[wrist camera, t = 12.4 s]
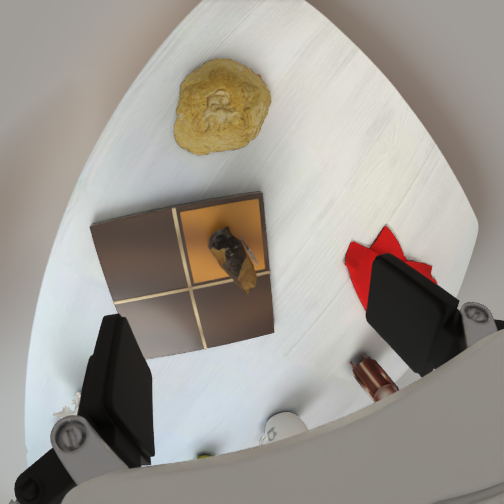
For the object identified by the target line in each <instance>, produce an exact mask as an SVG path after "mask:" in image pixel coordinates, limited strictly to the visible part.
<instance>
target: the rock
mask: <svg viewBox="0 0 504 504" xmlns="http://www.w3.org/2000/svg"><path fill="white" fill-rule="evenodd" d="M240 240H241V241H240ZM240 240H239V239H237V238H236V237H235V236H234V235H232V233H231V232H230V229H229V227H228V226H227V227H224V228H223V229H221V230H217V231H215V232H214V233H213V234H212V235H211V236H210V238H209V243H208V248H209V250H210V252H211V253H212V254H213V255H214V257H215V258H216V259H217V261H218V264H219V266H220V267H221V268H222V269H223V270H225V272H226V273H227V274H228V275H229V276H230V277H231V278H232V279H233V281H234V282H235V283H236V284H237V285H238V286H239V287H240V288H241V289H242V290H243V291H244V292H245V293H246V294H247V295H248V293H249V289H250V288H254V287H256V280H257V275H256V272H255V269H254V265H253V263H252V261H251V259H250V257H249V256H248V254H247V252H248V253H249V255H250V256H251V258H252V259H253V261H254V262H255V263H256V265H258V262H257V260H256V258H255V256H254V254H253V252H252V250H251V248H250V249H249V248H248V247H247V245H246V244H245V242H244V240H243V237H242V236H241V238H240ZM241 242H242V243H243V242H244V244H245V245H244V244H242V243H241ZM243 245H244V246H245V248H246V250H247V252H246V251H245V249H244V246H243Z"/></svg>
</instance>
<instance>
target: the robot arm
mask: <svg viewBox="0 0 504 504" xmlns="http://www.w3.org/2000/svg"><path fill="white" fill-rule="evenodd" d="M458 304H459V300H458V299H456V298H455V297H454V296H452V295H451V294H449V293H448V292H447V291H445V290H444V289H443V288H441V287H440V286H438V285H437V284H436V283H434V282H433V281H431V280H430V279H428V278H427V277H425V276H424V275H423V274H421V273H420V272H418V271H417V270H415V269H414V268H412V267H411V266H409V265H408V264H406V263H405V262H403V261H402V260H400V259H399V258H397V257H396V256H394V255H393V254H391V253H385V254H381V255H378V256H376V257H375V260H374V261H373V262H372V269H371V278H370V287H369V295H368V302H367V309H366V319H367V322H368V323H369V324H370V325H371V326H372V327H373V328H374V329H375V330H376V332H377V333H378V334H379V335H380V336H381V337H382V338H383V339H384V340H385V341H386V342H387V343H388V344H389V345H390V346H391V348H392V349H393V350H394V351H395V352H396V353H397V354H398V355H399V356H400V357H401V358H402V360H403V361H404V362H405V363H406V364H407V365H408V366H409V367H410V368H411V369H412V370H413V371H414V372H415V373H418V374H419V375H420V376H421V377H422V378H420V379H419V380H417V381H415V382H413V383H412V384H410V385H408V386H406V387H405V388H403V389H401V390H399V391H397V392H395V393H393V394H391V395H389V396H388V397H386V398H384V399H382V400H380V401H378V402H376V403H373V404H371V405H369V406H367V407H365V408H363V409H361V410H358V411H356V412H354V413H352V414H349V415H347V416H345V417H342V418H340V419H337V420H335V421H332V422H330V423H327V424H325V425H322V426H319V427H317V428H314V429H311V430H308V431H306V432H303V433H300V434H297V435H294V436H291V437H288V438H284V439H281V440H278V441H274V442H271V443H268V444H264V445H260V446H256V447H253V448H249V449H244V450H240V451H236V452H231V453H227V454H222V455H217V456H212V457H207V458H201V459H196V460H189V461H183V462H176V463H168V464H161V465H154V466H146V467H141V466H142V465H151V458H150V457H153V456H154V455H155V447H154V431H153V404H152V375H151V371H150V369H149V367H148V365H147V362H146V360H145V358H144V356H143V354H142V352H141V350H140V347H139V345H138V343H137V341H136V338H135V336H134V334H133V332H132V329H131V327H130V324H129V322H128V320H127V318H126V317H122V316H121V315H120V314H119V313H118V314H113V315H107V316H104V317H103V320H102V323H101V327H100V330H99V334H98V338H97V341H96V345H95V349H94V353H93V355H92V356H90V358H89V361H88V365H87V369H86V373H85V378H84V382H83V387H82V392H81V396H80V402H79V407H78V412H77V415H70V416H66V417H64V418H62V419H60V420H59V421H58V422H57V423H56V424H55V425H54V427H53V429H52V431H51V435H50V439H51V444H52V447H53V448H52V449H50V450H49V451H48V452H47V453H46V454H44V455H43V456H42V457H41V458H40V459H38V460H37V461H36V462H35V463H34V464H32V465H31V466H30V467H29V468H28V469H26V470H25V471H24V472H23V473H22V474H20V476H19V477H18V478H17V480H16V482H15V488H14V490H15V496H16V498H17V500H16V501H14V500H11V501H10V503H9V504H504V321H502V320H494V319H493V316H492V313H491V312H490V310H489V309H488V308H487V307H485V306H484V305H482V304H480V303H475V302H467V303H465V304H463V305H462V307H461V309H460V311H459V310H458V309H457V307H458ZM433 369H435V370H434V371H433Z"/></svg>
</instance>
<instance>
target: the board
mask: <svg viewBox="0 0 504 504" xmlns="http://www.w3.org/2000/svg"><path fill="white" fill-rule="evenodd" d="M227 226H228V227H229V229H230V232H231V233H232V235H234V236H235V237H236V238H237V239H239V240H240V238H241V236H242V237H243V240H244V242H245V244H246V245H247V247H248V248H249V249H250V248H251V250H252V252H253V254H254V256H255V258H256V260H257V262H258V265H256V263H255V262H254V261H253V259H252V258H251V256H250V255H249V253H248V252H247V250H246V248H245V246H244V245H245V244H244V242H243V243H242V242H241V243H242V244H244V245H243V246H244V249H245V251H246V252H247V254H248V256H249V257H250V259H251V261H252V263H253V265H254V269H255V272H256V275H257V280H256V287H254V288H250V289H249V293H248V295H247V294H246V293H245V292H244V291H243V290H242V289H241V288H240V287H239V286H238V285H237V284H236V283H235V282H234V281H233V279H232V278H231V277H230V276H229V275H228V274H227V273H226V272H225V270H223V269H222V268H221V267H220V266H219V264H218V261H217V259H216V258H215V257H214V255H213V254H212V253H211V252H210V250H209V248H208V243H209V238H210V236H211V235H212V234H213V233H214V232H215V231H217V230H221V229H223V228H224V227H227ZM90 230H91V234H92V237H93V241H94V244H95V248H96V251H97V255H98V258H99V261H100V264H101V267H102V270H103V273H104V276H105V279H106V282H107V285H108V288H109V291H110V293H111V296H112V299H113V301H114V302H113V303H114V305H115V307H116V309H117V312H118V313H119V314H120V315H121V316H122V317H126V318H127V320H128V322H129V324H130V327H131V329H132V332H133V334H134V336H135V338H136V341H137V343H138V345H139V347H140V350H141V352H142V354H143V356H144V358H145V359H152V358H158V357H164V356H170V355H175V354H181V353H186V352H191V351H196V350H201V349H207V348H211V347H216V346H221V345H225V344H230V343H234V342H238V341H243V340H247V339H251V338H255V337H259V336H263V335H267V334H271V333H274V321H273V308H272V295H271V283H270V270H269V259H268V247H267V235H266V224H265V213H264V202H263V193H262V192H260V191H257V192H250V193H243V194H237V195H231V196H225V197H219V198H213V199H207V200H202V201H196V202H191V203H186V204H180V205H175V206H170V207H165V208H160V209H155V210H150V211H146V212H141V213H136V214H132V215H127V216H123V217H119V218H114V219H110V220H106V221H102V222H97V223H93V224H92V225H91V226H90ZM240 241H241V240H240Z"/></svg>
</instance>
